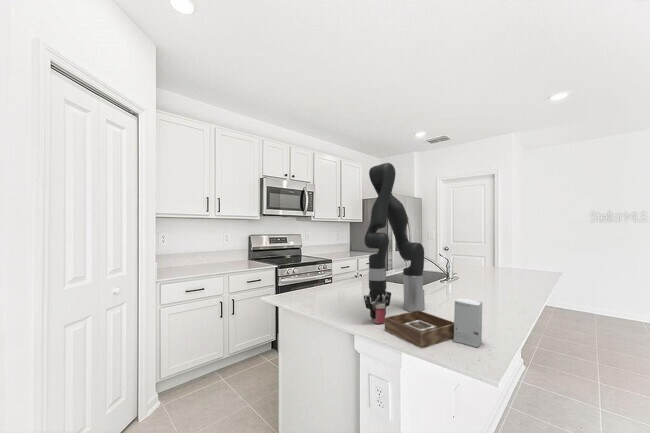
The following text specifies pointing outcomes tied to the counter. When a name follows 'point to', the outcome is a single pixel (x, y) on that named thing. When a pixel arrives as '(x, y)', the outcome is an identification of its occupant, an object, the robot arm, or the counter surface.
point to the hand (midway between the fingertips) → (378, 317)
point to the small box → (379, 313)
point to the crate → (420, 328)
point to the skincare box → (468, 322)
